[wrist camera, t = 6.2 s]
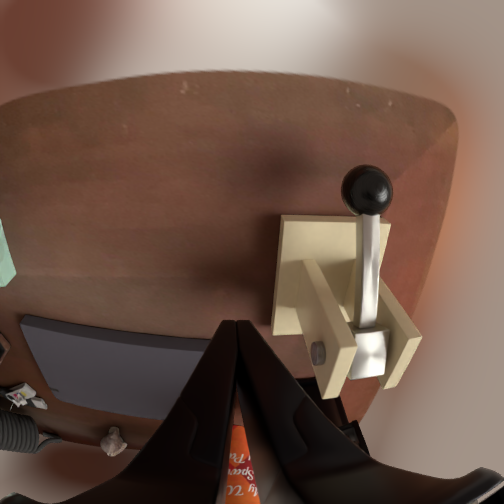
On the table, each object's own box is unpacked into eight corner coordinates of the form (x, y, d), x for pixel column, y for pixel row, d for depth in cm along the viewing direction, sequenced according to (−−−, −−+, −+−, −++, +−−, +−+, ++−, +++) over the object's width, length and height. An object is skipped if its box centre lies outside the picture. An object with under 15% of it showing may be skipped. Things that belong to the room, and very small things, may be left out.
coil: (45, 438, 36) (48, 480, 29) (-45, 381, 23) (-54, 428, 17) (67, 428, 36) (71, 473, 30) (-29, 366, 24) (-40, 418, 17)
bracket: (280, 214, 20) (320, 303, 12) (383, 217, 21) (461, 292, 13) (270, 326, 25) (289, 425, 17) (357, 320, 26) (398, 406, 17)
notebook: (237, 341, 26) (25, 313, 23) (238, 354, 24) (18, 324, 21) (226, 414, 32) (59, 390, 29) (227, 425, 30) (56, 399, 27)
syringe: (13, 399, 29) (23, 410, 29) (6, 406, 27) (16, 417, 27) (26, 376, 27) (37, 389, 27) (17, 384, 25) (29, 398, 25)
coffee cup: (265, 421, 33) (281, 530, 20) (253, 447, 37) (263, 538, 24) (197, 417, 32) (197, 532, 19) (194, 444, 35) (194, 538, 22)
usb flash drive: (7, 395, 30) (5, 400, 29) (-9, 373, 27) (-11, 377, 26) (48, 406, 31) (47, 411, 30) (33, 383, 28) (30, 389, 27)
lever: (332, 168, 17) (352, 156, 14) (376, 172, 17) (401, 162, 14) (328, 363, 18) (345, 383, 15) (370, 358, 18) (392, 375, 15)
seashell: (97, 433, 35) (89, 452, 31) (119, 418, 33) (110, 439, 29) (121, 448, 36) (114, 467, 32) (145, 435, 34) (139, 456, 30)
